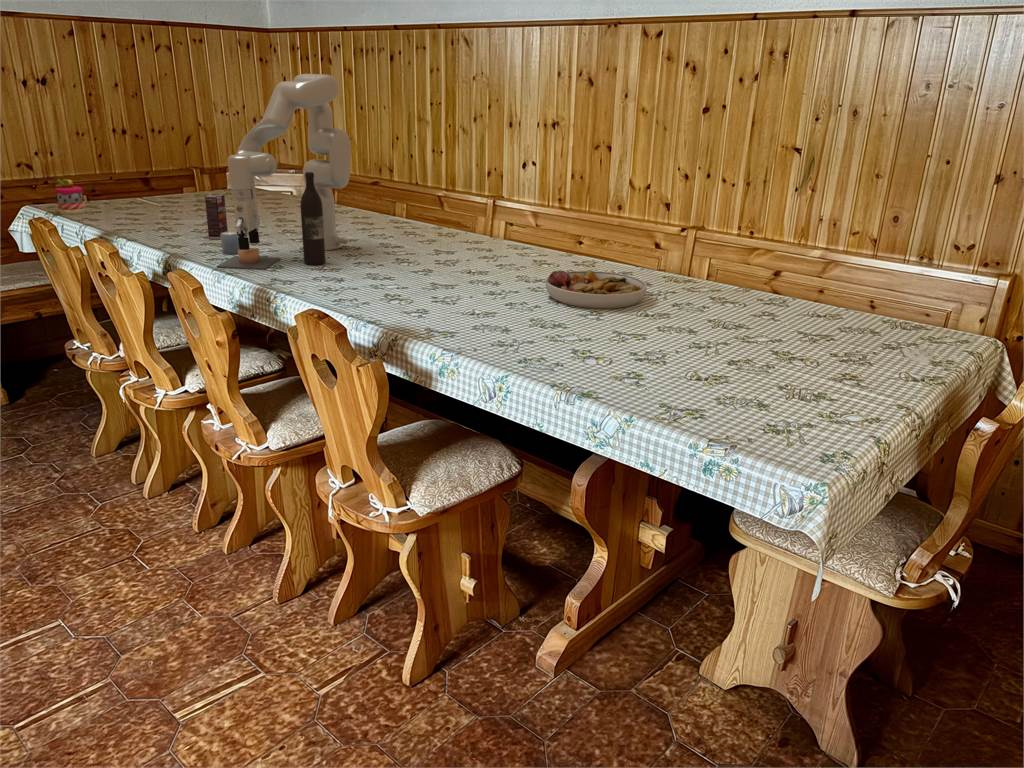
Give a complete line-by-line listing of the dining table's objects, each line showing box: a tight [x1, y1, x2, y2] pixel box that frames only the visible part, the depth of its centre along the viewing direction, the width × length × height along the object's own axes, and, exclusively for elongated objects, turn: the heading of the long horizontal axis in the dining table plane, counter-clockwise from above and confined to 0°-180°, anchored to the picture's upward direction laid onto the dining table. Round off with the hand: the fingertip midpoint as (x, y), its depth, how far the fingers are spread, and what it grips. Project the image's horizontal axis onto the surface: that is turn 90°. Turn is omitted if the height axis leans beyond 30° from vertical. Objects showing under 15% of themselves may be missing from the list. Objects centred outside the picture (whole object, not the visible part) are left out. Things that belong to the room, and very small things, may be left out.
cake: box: [54, 178, 86, 216], centre depth 343 cm, size 10×11×15 cm
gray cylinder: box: [220, 231, 239, 255], centre depth 278 cm, size 6×6×7 cm
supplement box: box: [204, 193, 229, 240], centre depth 302 cm, size 9×5×16 cm, turn 179°
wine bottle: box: [300, 172, 326, 266], centre depth 262 cm, size 7×7×30 cm
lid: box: [237, 247, 260, 264], centre depth 263 cm, size 7×7×4 cm
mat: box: [216, 255, 282, 271], centre depth 264 cm, size 16×16×1 cm
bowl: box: [544, 269, 648, 310], centre depth 234 cm, size 30×30×8 cm
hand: (249, 246), depth 262 cm, fingers open, 9 cm apart
